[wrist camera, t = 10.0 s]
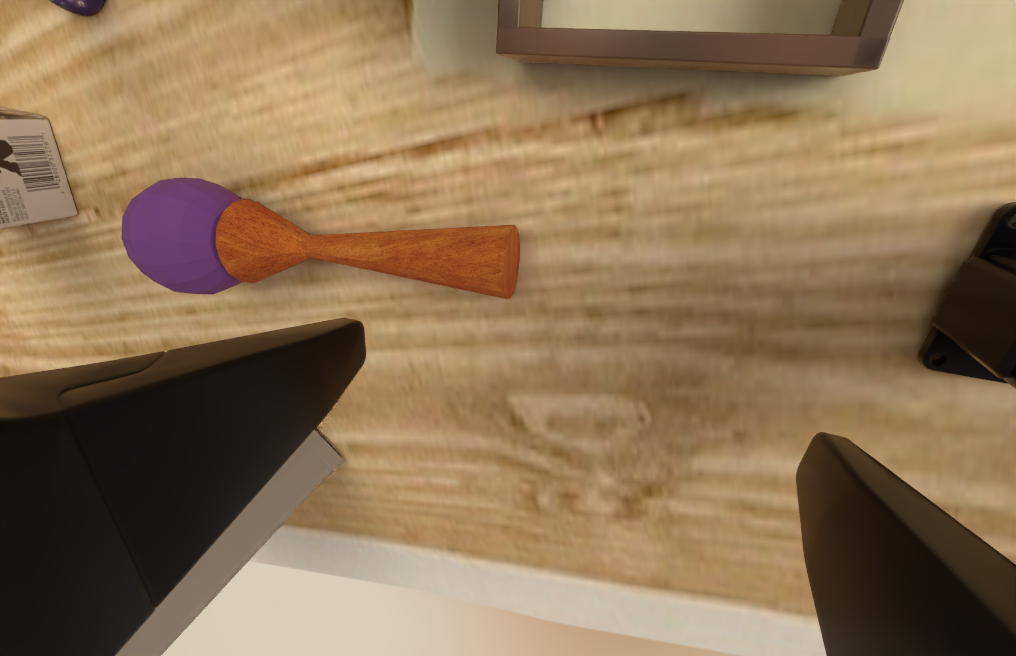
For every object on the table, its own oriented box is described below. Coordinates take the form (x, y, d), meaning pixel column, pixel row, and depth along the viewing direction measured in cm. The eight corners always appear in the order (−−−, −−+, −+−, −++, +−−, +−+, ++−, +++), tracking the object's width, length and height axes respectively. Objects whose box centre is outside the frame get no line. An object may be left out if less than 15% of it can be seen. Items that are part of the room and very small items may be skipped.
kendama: (499, 355, 20) (131, 310, 24) (525, 285, 24) (214, 257, 28) (491, 227, 16) (61, 200, 20) (524, 175, 21) (169, 161, 25)
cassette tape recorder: (286, 394, 31) (-536, 1012, 10) (346, 457, 32) (-288, 1149, 11) (209, 463, 38) (-379, 917, 17) (260, 513, 39) (-234, 1006, 18)
